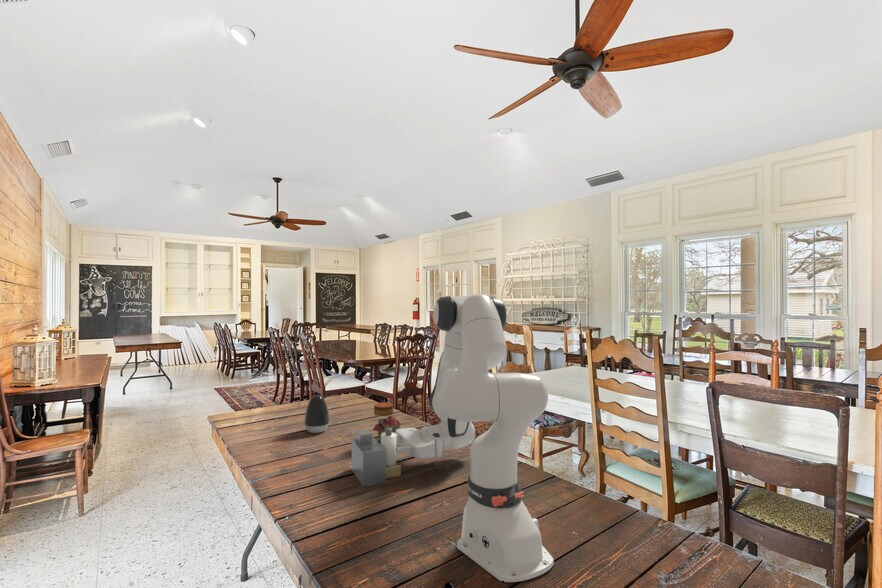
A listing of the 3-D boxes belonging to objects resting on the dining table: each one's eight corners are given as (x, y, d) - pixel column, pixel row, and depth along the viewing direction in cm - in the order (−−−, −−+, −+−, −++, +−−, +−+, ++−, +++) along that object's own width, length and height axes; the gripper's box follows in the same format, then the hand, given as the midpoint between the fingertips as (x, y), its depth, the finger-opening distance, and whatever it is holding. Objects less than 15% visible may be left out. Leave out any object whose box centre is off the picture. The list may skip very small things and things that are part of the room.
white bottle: (398, 473, 135) (398, 429, 135) (383, 476, 133) (383, 432, 133) (393, 467, 140) (393, 425, 140) (378, 470, 138) (378, 427, 137)
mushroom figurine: (392, 451, 154) (392, 410, 154) (362, 446, 159) (362, 406, 159) (406, 440, 165) (406, 402, 165) (378, 436, 170) (378, 399, 170)
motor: (403, 478, 131) (404, 437, 131) (363, 487, 126) (363, 443, 126) (387, 460, 146) (387, 422, 146) (350, 467, 140) (350, 428, 140)
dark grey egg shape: (335, 429, 178) (335, 393, 178) (315, 437, 169) (315, 399, 169) (318, 425, 183) (318, 390, 183) (298, 432, 174) (298, 395, 174)
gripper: (418, 421, 152) (381, 426, 146) (443, 439, 134) (402, 446, 128) (418, 439, 152) (381, 444, 146) (443, 459, 134) (402, 467, 128)
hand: (391, 445), depth 137 cm, fingers open, 8 cm apart
